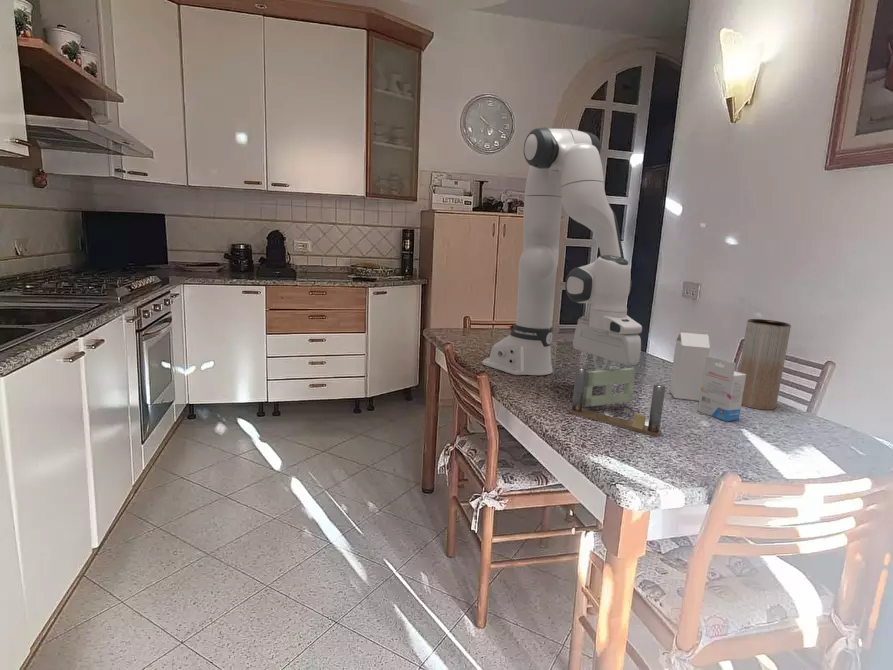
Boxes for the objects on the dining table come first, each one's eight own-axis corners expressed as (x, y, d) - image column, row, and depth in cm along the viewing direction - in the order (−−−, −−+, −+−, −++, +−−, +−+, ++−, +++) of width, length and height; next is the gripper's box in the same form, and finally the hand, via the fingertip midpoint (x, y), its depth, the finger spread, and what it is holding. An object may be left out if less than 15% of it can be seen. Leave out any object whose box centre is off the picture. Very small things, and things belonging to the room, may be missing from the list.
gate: (585, 406, 132) (589, 372, 130) (581, 404, 133) (585, 371, 131) (631, 401, 138) (635, 369, 137) (627, 399, 140) (631, 367, 138)
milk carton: (701, 401, 147) (712, 333, 143) (674, 398, 148) (683, 330, 145) (695, 394, 154) (705, 328, 150) (668, 391, 155) (678, 326, 152)
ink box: (739, 420, 133) (749, 362, 131) (726, 422, 131) (736, 363, 128) (710, 409, 141) (718, 354, 138) (696, 411, 139) (705, 355, 136)
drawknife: (568, 412, 131) (573, 368, 129) (574, 409, 134) (579, 366, 132) (656, 436, 119) (663, 388, 117) (661, 433, 121) (667, 385, 119)
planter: (784, 410, 143) (800, 326, 139) (748, 409, 142) (763, 324, 138) (760, 399, 153) (774, 319, 149) (726, 397, 152) (739, 318, 148)
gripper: (570, 314, 144) (565, 365, 147) (628, 328, 126) (622, 385, 129) (588, 314, 147) (582, 363, 150) (647, 327, 129) (640, 383, 132)
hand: (601, 374), depth 139 cm, fingers closed
